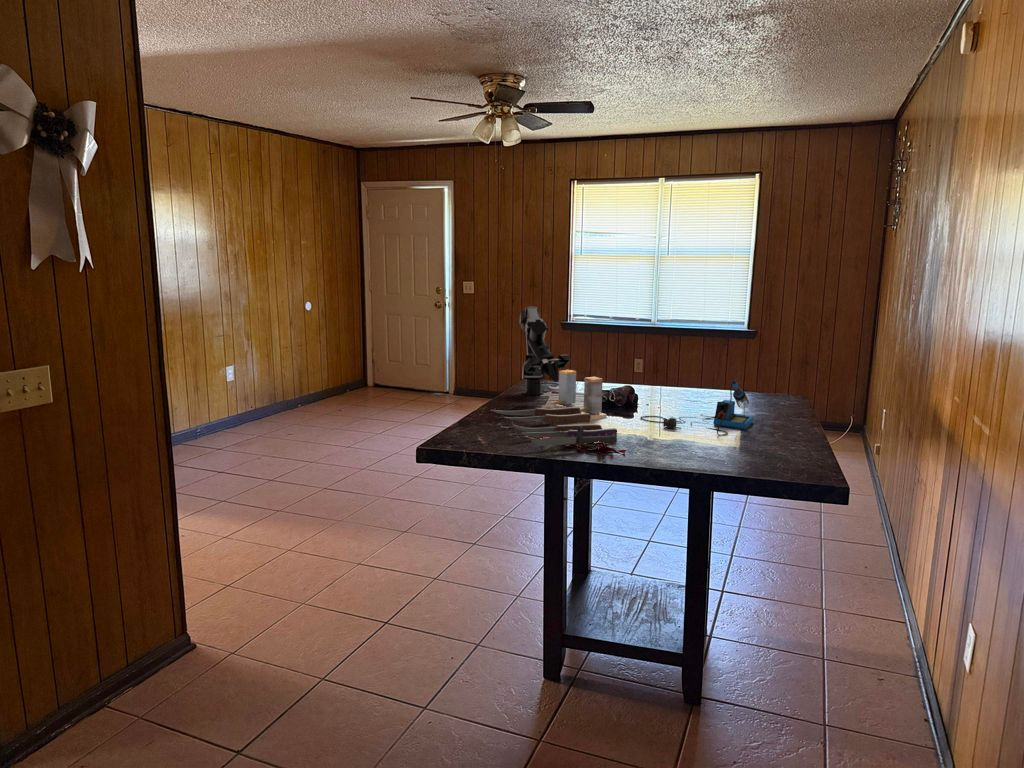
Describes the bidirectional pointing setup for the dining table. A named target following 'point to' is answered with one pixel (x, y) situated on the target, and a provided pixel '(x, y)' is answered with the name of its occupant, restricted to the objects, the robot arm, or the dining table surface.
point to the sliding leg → (566, 387)
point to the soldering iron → (721, 413)
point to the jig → (588, 399)
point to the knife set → (563, 427)
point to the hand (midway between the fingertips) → (556, 381)
